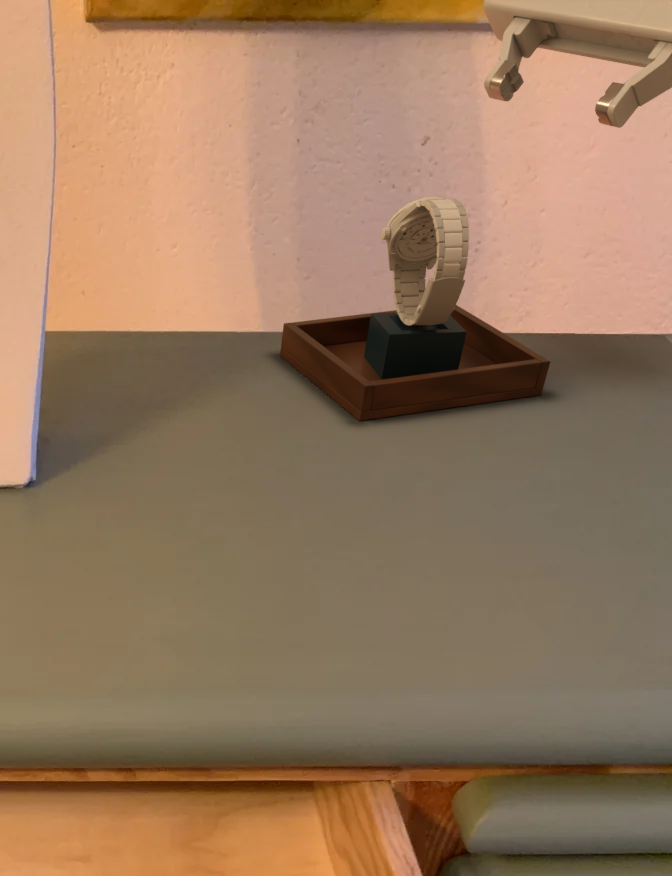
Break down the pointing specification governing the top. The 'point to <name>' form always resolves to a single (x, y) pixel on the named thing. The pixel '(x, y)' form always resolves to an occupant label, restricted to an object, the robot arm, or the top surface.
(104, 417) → the top surface
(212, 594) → the top surface
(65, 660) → the top surface
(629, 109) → the robot arm
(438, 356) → the watch
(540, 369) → the tray
